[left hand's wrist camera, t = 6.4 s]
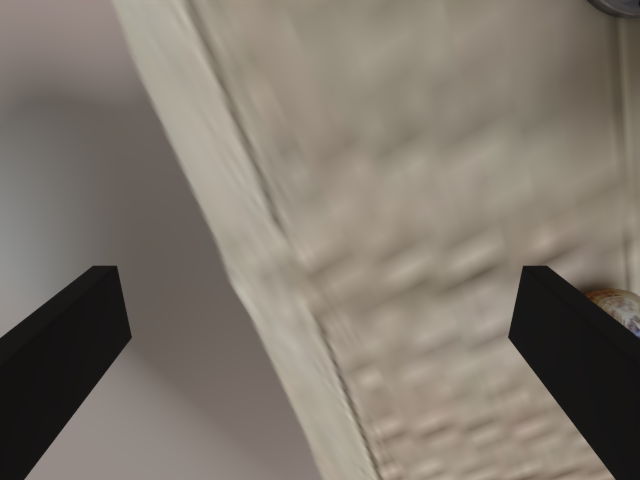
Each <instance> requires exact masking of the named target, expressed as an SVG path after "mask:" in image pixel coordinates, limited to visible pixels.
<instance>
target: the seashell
mask: <svg viewBox="0 0 640 480" xmlns="http://www.w3.org/2000/svg"><path fill="white" fill-rule="evenodd" d="M584 295H585V296H586V297H588V298H589V299H590V300H591V301H593V302H594V303H595V304H597V305H598V306H599V307H600V308H602V309H603V310H604V311H606V312H607V313H608V314H609V315H611V316H612V317H613V318H615V319H616V320H617V321H618V322H620V323H621V324H622V325H624V326H625V327H626V328H627V329H629V330H630V331H631V332H633V333H634V334H635V335H636V336H638V337H639V338H640V297H639V296H638V295H636V294H635V293H632V292H629V291H626V290H619V289H604V290H597V291H593V292H589V293H586V294H584Z"/></svg>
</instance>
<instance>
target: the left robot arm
mask: <svg viewBox="0 0 640 480" xmlns="http://www.w3.org/2000/svg"><path fill="white" fill-rule="evenodd" d="M588 1H589V2H590V3H591V4H592V5H594V6H595V7H596V8H598V9H599V10H601V11H603V12H605V13H607V14H609V15H613V16H616V17H622V18H639V17H640V0H588ZM131 338H132V336H131V331H130V327H129V322H128V317H127V312H126V307H125V303H124V298H123V293H122V288H121V283H120V278H119V274H118V269H117V266H92V267H91V268H90V269H88V270H87V271H86V272H85V273H83V274H82V275H81V276H79V277H78V278H77V279H76V280H74V281H73V282H72V283H70V284H69V285H68V286H67V287H65V288H64V289H63V290H61V291H60V292H59V293H58V294H56V295H55V296H54V297H52V298H51V299H50V300H49V301H47V302H46V303H45V304H43V305H42V306H41V307H40V308H38V309H37V310H36V311H34V312H33V313H32V314H31V315H29V316H28V317H27V318H25V319H24V320H23V321H22V322H20V323H19V324H18V325H17V326H15V327H14V328H13V329H11V330H10V331H9V332H7V333H6V334H5V335H4V336H2V337H1V338H0V480H24V479H25V478H26V477H27V475H28V474H29V473H30V471H31V470H32V469H33V467H34V466H35V465H36V463H37V462H38V461H39V459H40V458H41V457H42V455H43V454H44V453H45V452H46V450H47V449H48V448H49V446H50V445H51V444H52V442H53V441H54V440H55V438H56V437H57V436H58V434H59V433H60V432H61V430H62V429H63V428H64V426H65V425H66V424H67V422H68V421H69V420H70V419H71V417H72V416H73V415H74V413H75V412H76V411H77V409H78V408H79V407H80V405H81V404H82V403H83V401H84V400H85V399H86V397H87V396H88V395H89V393H90V392H91V391H92V389H93V388H94V387H95V386H96V384H97V383H98V381H99V380H100V379H101V378H102V376H103V375H104V374H105V372H106V371H107V370H108V368H109V367H110V366H111V364H112V363H113V362H114V360H115V359H116V358H117V356H118V355H119V354H120V353H121V351H122V350H123V348H124V347H125V346H126V345H127V343H128V342H129V341H130V339H131ZM508 338H509V339H510V341H511V342H512V343H513V345H514V346H515V347H516V349H517V350H518V351H519V353H520V354H521V355H522V356H523V358H524V359H525V360H526V362H527V363H528V364H529V366H530V367H531V368H532V370H533V371H534V372H535V374H536V375H537V376H538V378H539V379H540V380H541V382H542V383H543V384H544V386H545V387H546V388H547V389H548V391H549V392H550V393H551V395H552V396H553V397H554V399H555V400H556V401H557V403H558V404H559V405H560V407H561V408H562V409H563V411H564V412H565V413H566V415H567V416H568V417H569V419H570V420H571V421H572V422H573V424H574V425H575V426H576V428H577V429H578V430H579V432H580V433H581V434H582V436H583V437H584V438H585V440H586V441H587V442H588V444H589V445H590V446H591V448H592V449H593V450H594V452H595V453H596V454H597V455H598V457H599V458H600V459H601V461H602V462H603V463H604V465H605V466H606V467H607V469H608V470H609V471H610V473H611V474H612V475H613V477H614V478H615V479H616V480H640V338H639V337H638V336H636V335H635V334H634V333H633V332H631V331H630V330H629V329H627V328H626V327H625V326H624V325H622V324H621V323H620V322H618V321H617V320H616V319H615V318H613V317H612V316H611V315H609V314H608V313H607V312H606V311H604V310H603V309H602V308H600V307H599V306H598V305H597V304H595V303H594V302H593V301H591V300H590V299H589V298H588V297H586V296H585V295H584V294H582V293H581V292H580V291H579V290H577V289H576V288H575V287H573V286H572V285H571V284H570V283H568V282H567V281H566V280H564V279H563V278H562V277H561V276H559V275H558V274H557V273H555V272H554V271H553V270H552V269H550V268H549V267H548V266H523V269H522V274H521V278H520V283H519V288H518V293H517V298H516V302H515V307H514V312H513V317H512V322H511V326H510V331H509V336H508Z"/></svg>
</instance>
